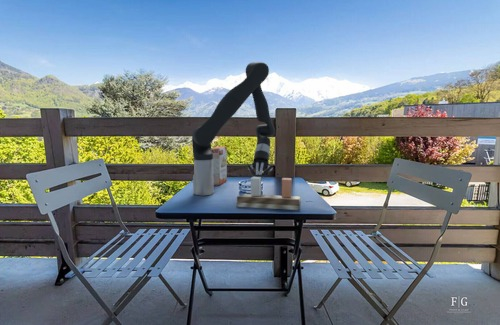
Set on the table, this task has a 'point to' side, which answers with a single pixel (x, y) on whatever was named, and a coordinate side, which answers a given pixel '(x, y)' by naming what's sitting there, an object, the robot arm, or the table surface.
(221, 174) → the cracker box
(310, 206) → the table surface
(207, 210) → the table surface
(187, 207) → the table surface
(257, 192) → the white rectangular block
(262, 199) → the press stand
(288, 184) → the terracotta plug
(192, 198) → the table surface
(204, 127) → the robot arm
